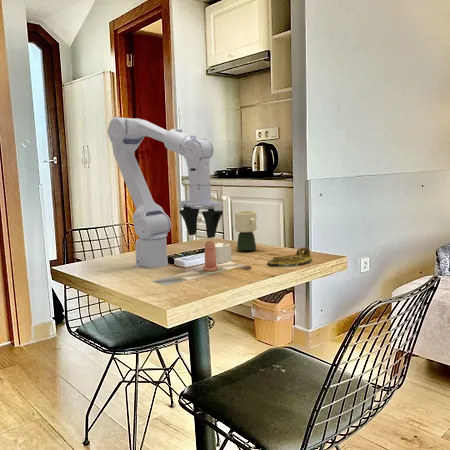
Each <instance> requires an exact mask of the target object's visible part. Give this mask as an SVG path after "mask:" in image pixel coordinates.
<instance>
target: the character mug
mask: <svg viewBox="0 0 450 450" xmlns="http://www.w3.org/2000/svg"><path fill="white" fill-rule="evenodd" d="M257 228H258V226H257V211H256V210H240V211H235V212H234V230H235V232H238V236H237V246H236V247H237V248H236V249H237V251H247V252H250V251H255V250H257V245H256V244H257V243H256V238H255V235H254V232H255V231H256V230H257Z"/></svg>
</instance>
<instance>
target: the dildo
mask: <svg viewBox="0 0 450 450" xmlns="http://www.w3.org/2000/svg"><path fill="white" fill-rule="evenodd" d="M215 244H216V243H215V242H214V241H213V240H208V241H206V242H205V243H204V251H203V252H204V265H203V267H202V269H203V270H204V271H206V272H214V271H218V268H219V267H218V265H219V264H217V263H216V249H215Z"/></svg>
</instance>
